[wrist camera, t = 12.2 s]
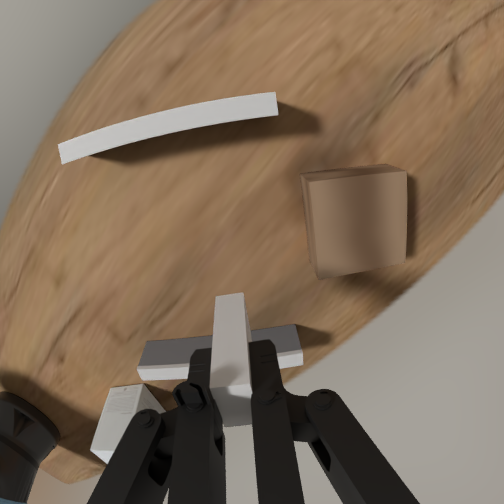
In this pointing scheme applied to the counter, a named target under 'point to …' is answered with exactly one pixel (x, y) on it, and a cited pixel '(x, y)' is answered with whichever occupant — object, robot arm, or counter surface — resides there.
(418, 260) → the counter surface
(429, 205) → the counter surface
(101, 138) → the corridor walls
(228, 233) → the counter surface
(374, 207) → the walnut block
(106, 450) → the small box
